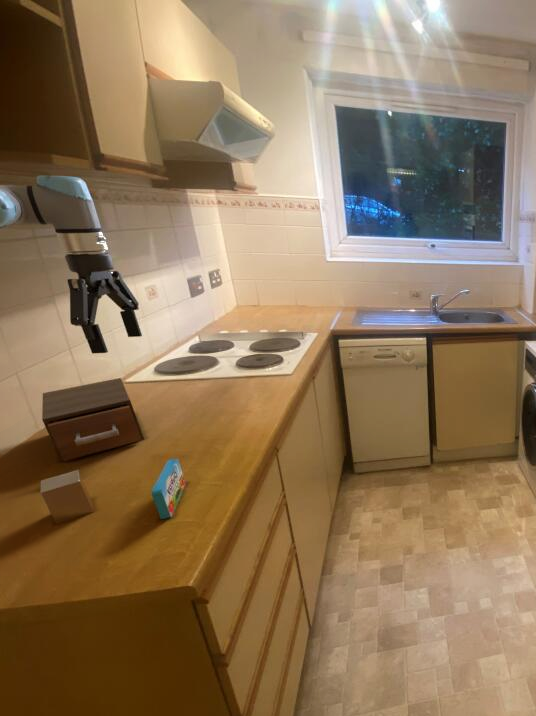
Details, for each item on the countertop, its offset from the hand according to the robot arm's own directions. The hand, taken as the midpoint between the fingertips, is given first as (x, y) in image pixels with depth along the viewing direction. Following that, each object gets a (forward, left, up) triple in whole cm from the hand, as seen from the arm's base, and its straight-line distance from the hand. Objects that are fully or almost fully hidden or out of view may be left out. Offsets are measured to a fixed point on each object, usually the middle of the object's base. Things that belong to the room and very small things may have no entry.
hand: (118, 344), depth 104 cm
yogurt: (-1, -42, -23) cm, 48 cm away
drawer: (-9, -4, -21) cm, 24 cm away
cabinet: (-9, +2, -22) cm, 24 cm away
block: (-15, -33, -22) cm, 43 cm away
